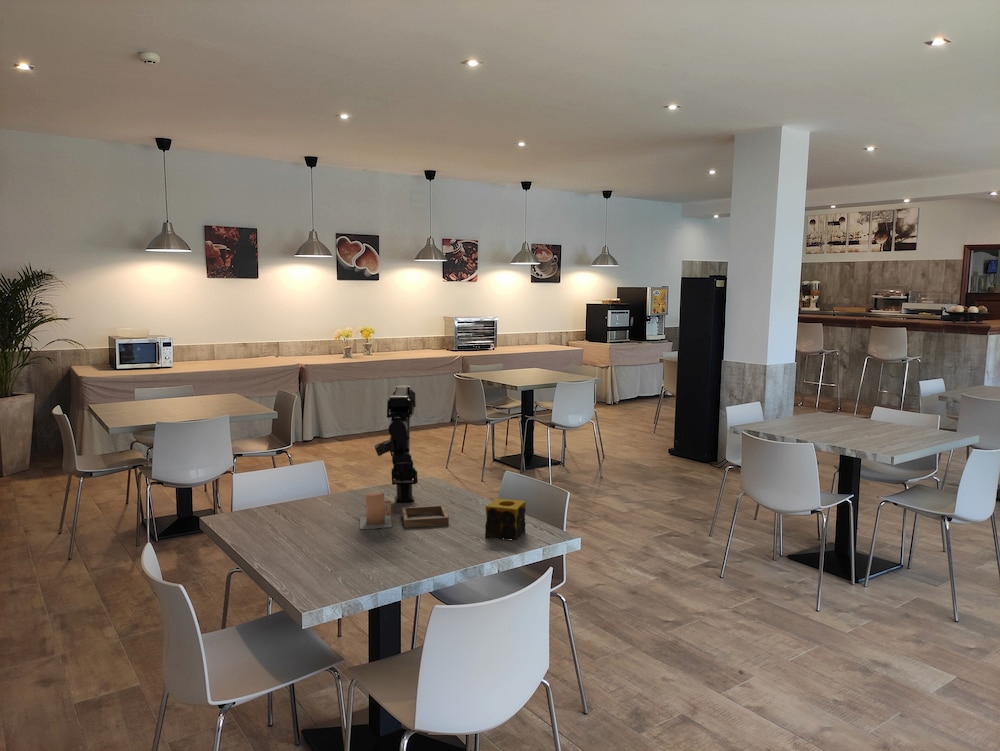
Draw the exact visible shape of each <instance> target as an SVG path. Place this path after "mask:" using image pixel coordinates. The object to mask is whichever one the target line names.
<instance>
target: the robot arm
mask: <svg viewBox="0 0 1000 751" xmlns="http://www.w3.org/2000/svg"><path fill="white" fill-rule="evenodd" d="M416 396H417V395H416V392H415V391H413V390H412V389H411V385H407V384H406V385H405V384H404V385H403V384H402V385H400V384H399V385H396V386H395V390H394V391H393V392H392V394H391V395H390V396H389V398H388V399H387V401H386V402H387V404H386V405H387V407H386V418H388V419H390V418H391V419H390V424H389V426H388V429H387V430H388V433H389V439H388V440H384V441H382V442H378V443H376V444H374V449H375V452H376V454H377V456H378V457H381V456H382V455H384V454H387V453H390V456H391V463H392V464H393V467H391V485H392V486H394V485H396V487H395V488H396V495H395V497H394V500H395V503H406V502H407V503H408V502H410V503H411V502H415V499H414V498H415V497H414V495H413V485H416V484H418V481H419V480H418V479H419V478H418V476H419V475H418V471H417V469H416V467H415V466H414V462H413V460H412V454H411V453H410V448H411V447H410V444H411V443H410V439H411V434H410V433H411V418H412V417H413V415H414V414H415V408H416V407H417V397H416Z"/></svg>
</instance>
